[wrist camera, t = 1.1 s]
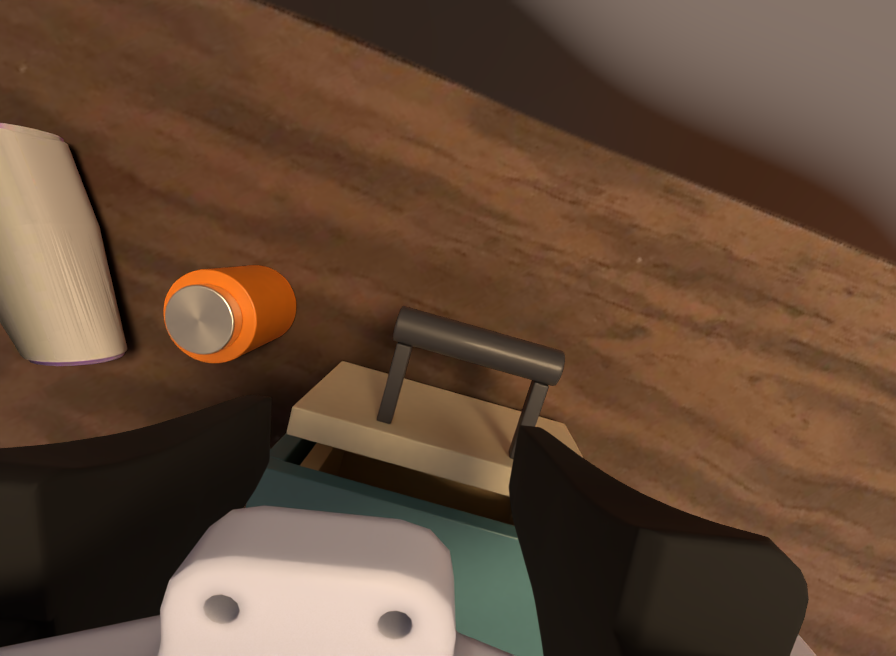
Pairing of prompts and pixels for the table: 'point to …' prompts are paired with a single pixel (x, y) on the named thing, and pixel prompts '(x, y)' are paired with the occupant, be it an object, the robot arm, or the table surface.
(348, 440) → the drawer
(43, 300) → the infrared thermometer
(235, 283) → the orange cylinder
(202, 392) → the table surface
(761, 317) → the table surface
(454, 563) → the cabinet
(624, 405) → the table surface
